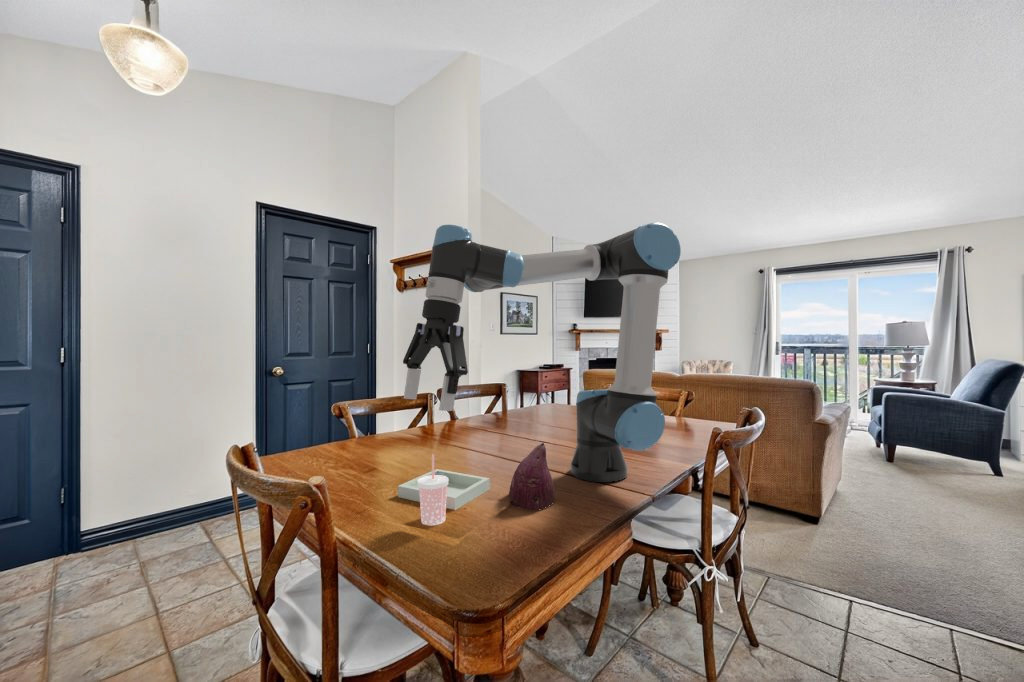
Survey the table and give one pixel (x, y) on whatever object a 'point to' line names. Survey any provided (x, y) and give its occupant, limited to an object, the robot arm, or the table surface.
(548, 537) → the table surface
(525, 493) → the vegetable
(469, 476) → the tray
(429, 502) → the beverage cup
